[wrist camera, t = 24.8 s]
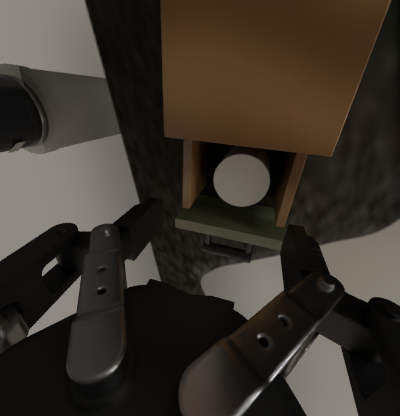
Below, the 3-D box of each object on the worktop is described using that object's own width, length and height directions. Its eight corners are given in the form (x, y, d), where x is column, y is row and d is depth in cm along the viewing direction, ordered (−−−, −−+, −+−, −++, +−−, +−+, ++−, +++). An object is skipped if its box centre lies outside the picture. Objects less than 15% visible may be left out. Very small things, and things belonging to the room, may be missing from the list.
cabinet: (307, 135, 22) (331, 157, 14) (197, 124, 25) (163, 136, 17) (371, -73, 15) (498, -279, 7) (206, -56, 18) (154, -188, 9)
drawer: (271, 242, 28) (273, 286, 22) (194, 226, 31) (175, 260, 24) (316, 92, 19) (341, 90, 13) (202, 86, 22) (174, 81, 15)
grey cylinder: (221, 182, 25) (211, 201, 21) (226, 139, 23) (215, 150, 18) (264, 189, 24) (263, 211, 19) (274, 145, 22) (276, 157, 17)
